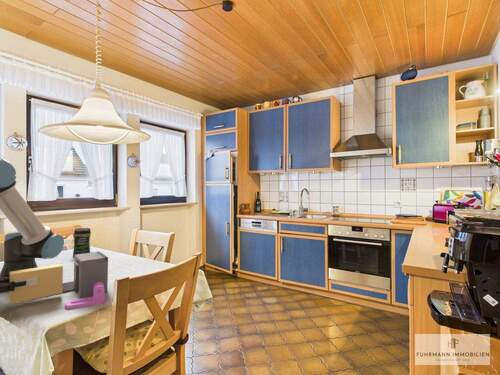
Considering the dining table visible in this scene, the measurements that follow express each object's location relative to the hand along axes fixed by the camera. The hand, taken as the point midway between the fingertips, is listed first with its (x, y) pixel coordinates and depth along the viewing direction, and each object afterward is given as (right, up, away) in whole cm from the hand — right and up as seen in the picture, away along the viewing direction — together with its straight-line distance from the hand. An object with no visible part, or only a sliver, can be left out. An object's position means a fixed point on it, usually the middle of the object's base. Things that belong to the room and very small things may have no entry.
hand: (36, 278), depth 105 cm
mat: (-2, -9, +12) cm, 15 cm away
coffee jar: (-26, -10, +70) cm, 75 cm away
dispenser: (+13, -9, +13) cm, 21 cm away
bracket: (+20, -10, -1) cm, 22 cm away
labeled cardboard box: (0, -7, 0) cm, 7 cm away
